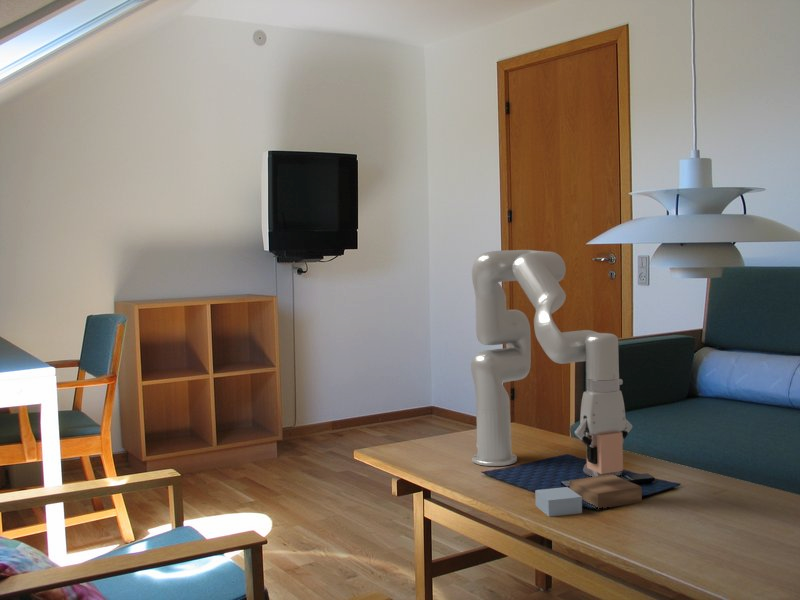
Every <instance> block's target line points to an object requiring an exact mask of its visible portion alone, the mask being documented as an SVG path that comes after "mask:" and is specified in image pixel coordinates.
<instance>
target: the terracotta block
mask: <svg viewBox="0 0 800 600" xmlns="http://www.w3.org/2000/svg"><path fill="white" fill-rule="evenodd" d="M587 432H588V431H587ZM587 432H585V436H586V435H587ZM591 438H592V436H591ZM623 444H624V443H623V440H622V433H621V432H615V433H607V434H600V435H596V444H595V447H597V464H593V463H590V462H588V459H587V458H586V464H587V468H589V469H591V470H593V471H596V472H598V473H600V474H605V473H611V472H618V471H622V472H623V471H624V452H623V446H624V445H623ZM585 446H586V445H585ZM586 450H587V446H586Z"/></svg>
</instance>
